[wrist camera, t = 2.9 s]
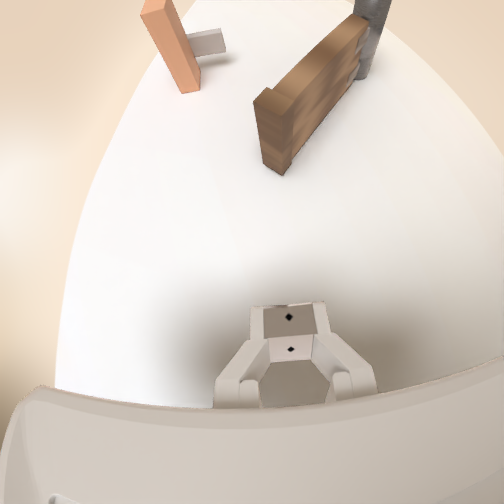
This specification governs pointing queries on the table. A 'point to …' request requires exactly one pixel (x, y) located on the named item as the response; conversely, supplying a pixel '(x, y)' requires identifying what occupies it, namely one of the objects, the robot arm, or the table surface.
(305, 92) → the gate
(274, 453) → the robot arm
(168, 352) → the table surface
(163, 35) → the latch post
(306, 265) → the table surface
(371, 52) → the hinge post
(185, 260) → the table surface
